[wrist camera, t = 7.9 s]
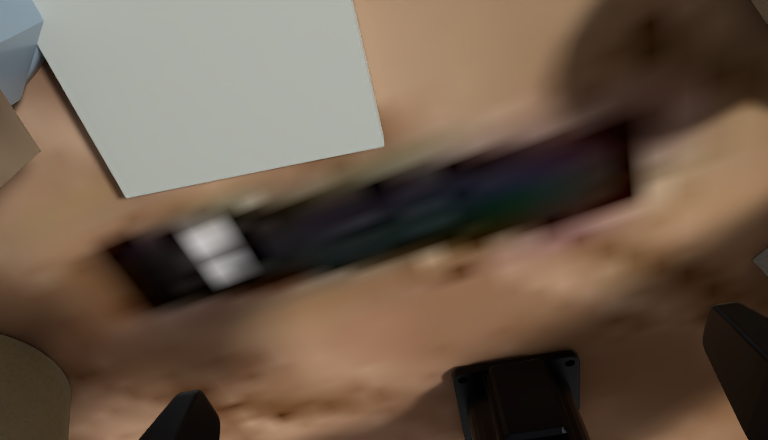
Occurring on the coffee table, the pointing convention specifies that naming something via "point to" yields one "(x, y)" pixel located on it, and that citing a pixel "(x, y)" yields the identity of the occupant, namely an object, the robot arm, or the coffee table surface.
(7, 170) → the lid
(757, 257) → the tall grey upright box
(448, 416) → the coffee table surface
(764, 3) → the ceramic mug
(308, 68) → the mat
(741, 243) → the coffee table surface
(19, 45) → the bowl
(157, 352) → the coffee table surface
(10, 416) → the plant pot
